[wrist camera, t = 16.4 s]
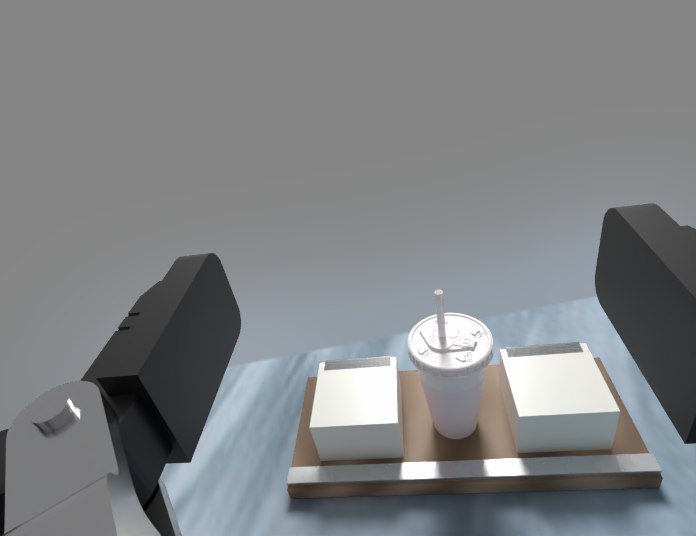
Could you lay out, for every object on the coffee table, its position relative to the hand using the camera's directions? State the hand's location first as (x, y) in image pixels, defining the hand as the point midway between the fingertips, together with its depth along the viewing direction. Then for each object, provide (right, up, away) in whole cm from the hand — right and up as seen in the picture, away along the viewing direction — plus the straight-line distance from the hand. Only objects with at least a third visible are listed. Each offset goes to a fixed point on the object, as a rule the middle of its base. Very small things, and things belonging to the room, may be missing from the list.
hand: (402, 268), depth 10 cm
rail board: (+8, -14, +31) cm, 35 cm away
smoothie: (+8, -13, +30) cm, 34 cm away
